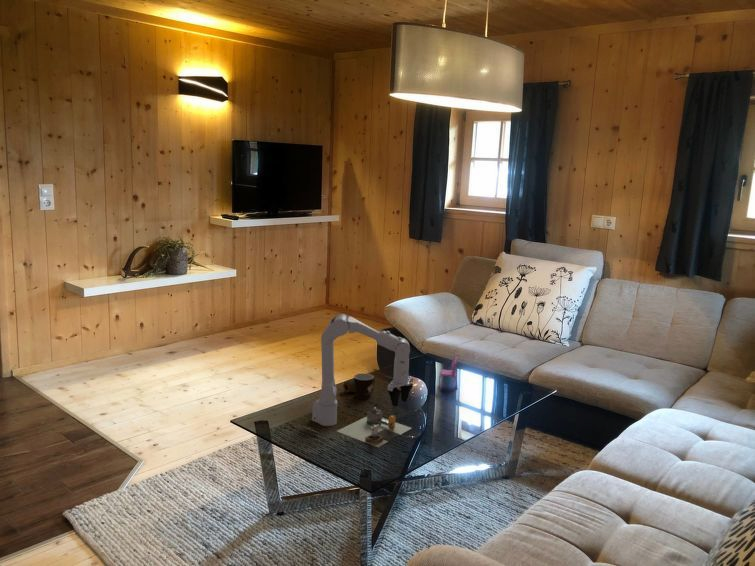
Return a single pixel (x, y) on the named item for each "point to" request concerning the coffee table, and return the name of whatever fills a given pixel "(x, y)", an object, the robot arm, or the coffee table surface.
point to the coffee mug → (363, 385)
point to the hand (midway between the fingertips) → (399, 403)
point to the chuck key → (374, 432)
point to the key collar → (375, 442)
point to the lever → (391, 422)
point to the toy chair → (449, 371)
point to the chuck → (374, 417)
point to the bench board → (363, 430)
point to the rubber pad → (388, 434)
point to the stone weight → (352, 386)
